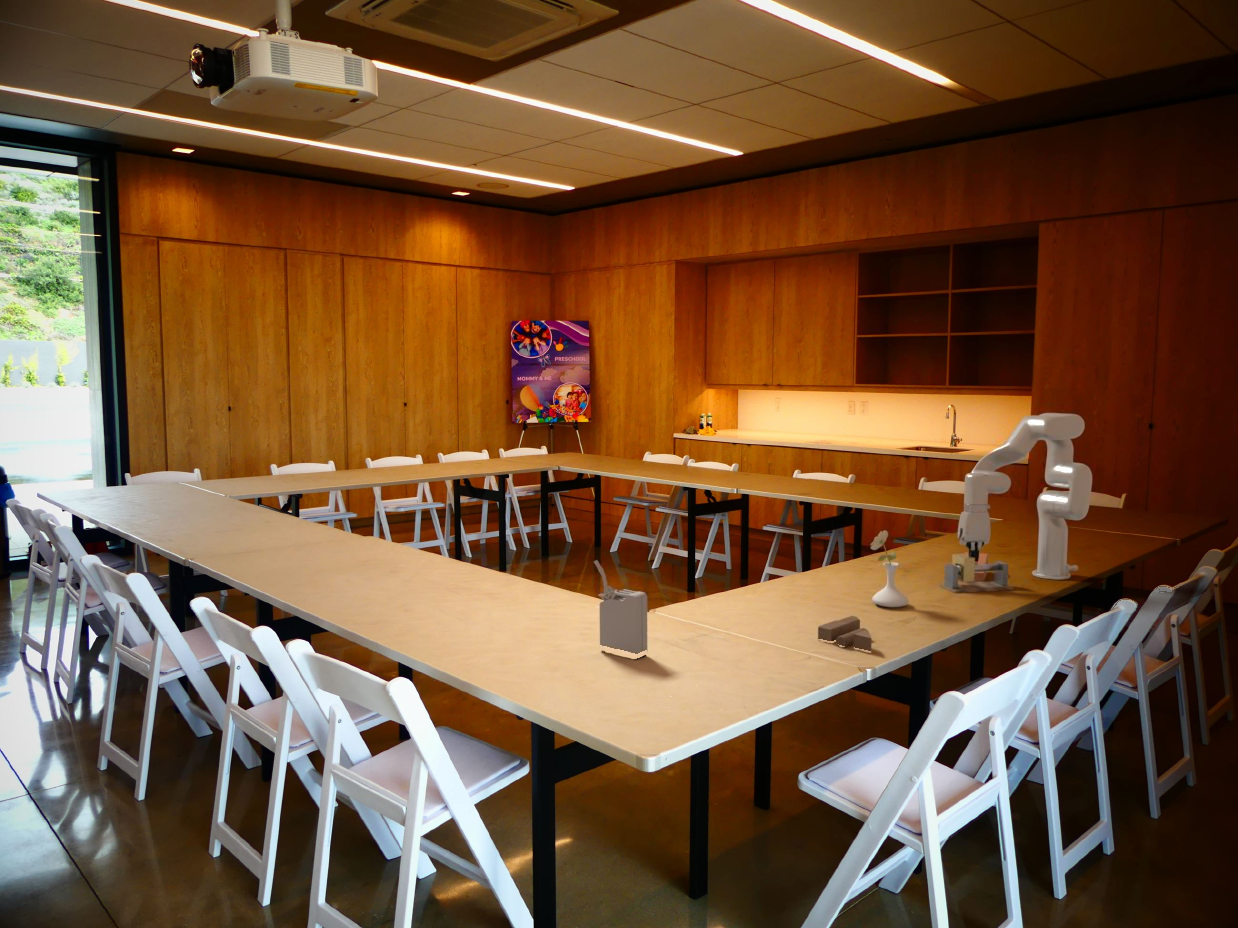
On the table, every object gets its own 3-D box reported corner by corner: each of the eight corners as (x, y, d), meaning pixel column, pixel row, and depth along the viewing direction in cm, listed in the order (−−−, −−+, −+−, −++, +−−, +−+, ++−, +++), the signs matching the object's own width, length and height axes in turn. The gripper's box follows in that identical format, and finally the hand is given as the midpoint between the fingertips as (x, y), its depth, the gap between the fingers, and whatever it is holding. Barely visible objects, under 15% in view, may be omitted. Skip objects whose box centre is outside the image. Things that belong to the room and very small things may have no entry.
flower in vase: (893, 599, 290) (894, 525, 288) (916, 607, 280) (918, 531, 277) (860, 603, 286) (861, 528, 283) (882, 612, 275) (884, 534, 272)
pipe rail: (998, 584, 309) (999, 561, 308) (1007, 587, 304) (1008, 564, 303) (944, 587, 305) (945, 563, 305) (952, 591, 300) (953, 566, 300)
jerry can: (592, 649, 240) (591, 560, 237) (603, 645, 244) (602, 557, 241) (636, 661, 230) (635, 568, 228) (647, 656, 234) (647, 564, 232)
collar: (962, 576, 307) (962, 553, 307) (974, 581, 300) (974, 557, 300) (951, 577, 307) (952, 554, 306) (963, 581, 300) (964, 558, 299)
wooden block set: (815, 623, 246) (850, 611, 258) (815, 642, 246) (850, 629, 258) (869, 635, 233) (903, 622, 246) (868, 656, 234) (903, 642, 246)
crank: (964, 570, 332) (965, 550, 331) (987, 572, 329) (988, 551, 328) (959, 582, 314) (959, 560, 314) (983, 584, 311) (983, 562, 310)
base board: (995, 582, 312) (995, 580, 312) (1013, 589, 302) (1013, 587, 302) (939, 586, 308) (939, 583, 308) (955, 593, 298) (955, 590, 298)
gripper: (988, 506, 307) (986, 557, 309) (949, 507, 304) (947, 559, 306) (1001, 509, 299) (999, 562, 301) (962, 511, 297) (960, 564, 299)
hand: (973, 560), depth 304 cm, fingers closed
